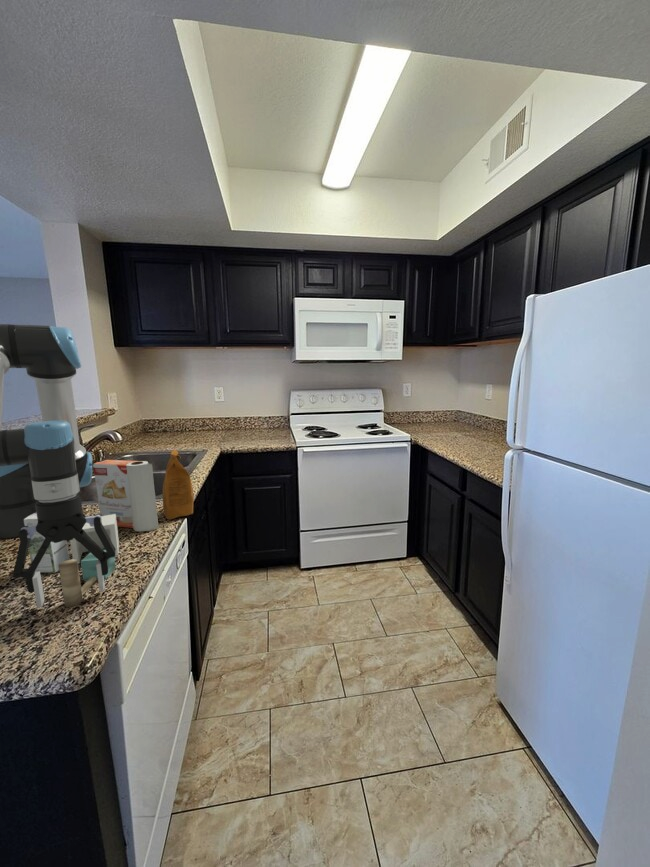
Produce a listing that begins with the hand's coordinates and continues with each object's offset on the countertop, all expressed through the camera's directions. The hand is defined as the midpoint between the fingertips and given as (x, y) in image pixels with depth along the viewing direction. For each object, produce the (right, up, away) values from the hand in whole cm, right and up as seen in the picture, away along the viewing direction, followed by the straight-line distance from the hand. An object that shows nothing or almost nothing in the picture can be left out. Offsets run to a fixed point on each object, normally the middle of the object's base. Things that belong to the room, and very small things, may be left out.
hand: (72, 596), depth 77 cm
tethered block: (0, 0, +6) cm, 6 cm away
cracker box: (-11, +5, +40) cm, 42 cm away
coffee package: (+3, +7, +49) cm, 50 cm away
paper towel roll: (-3, +4, +37) cm, 37 cm away
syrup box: (-15, +1, +14) cm, 21 cm away
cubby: (-8, +2, +21) cm, 23 cm away
